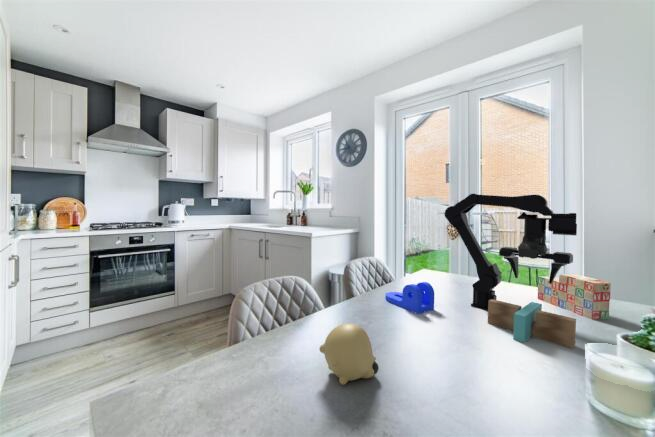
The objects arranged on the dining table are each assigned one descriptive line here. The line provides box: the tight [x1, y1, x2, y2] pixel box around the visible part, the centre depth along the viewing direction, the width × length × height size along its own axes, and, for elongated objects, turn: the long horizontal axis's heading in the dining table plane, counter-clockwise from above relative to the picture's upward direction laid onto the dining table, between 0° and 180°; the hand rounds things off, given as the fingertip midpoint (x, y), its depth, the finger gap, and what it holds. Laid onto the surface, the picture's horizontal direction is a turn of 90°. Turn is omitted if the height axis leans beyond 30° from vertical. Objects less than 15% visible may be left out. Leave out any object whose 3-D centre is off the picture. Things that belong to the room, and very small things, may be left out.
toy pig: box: [318, 323, 380, 386], centre depth 57 cm, size 10×12×11 cm
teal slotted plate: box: [512, 301, 543, 343], centre depth 79 cm, size 16×2×7 cm, turn 130°
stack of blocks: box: [537, 273, 612, 321], centre depth 101 cm, size 21×6×12 cm, turn 5°
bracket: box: [385, 281, 435, 315], centre depth 102 cm, size 18×8×9 cm, turn 31°
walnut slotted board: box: [487, 299, 577, 349], centre depth 79 cm, size 20×2×7 cm, turn 40°
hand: (532, 280), depth 91 cm, fingers open, 9 cm apart
